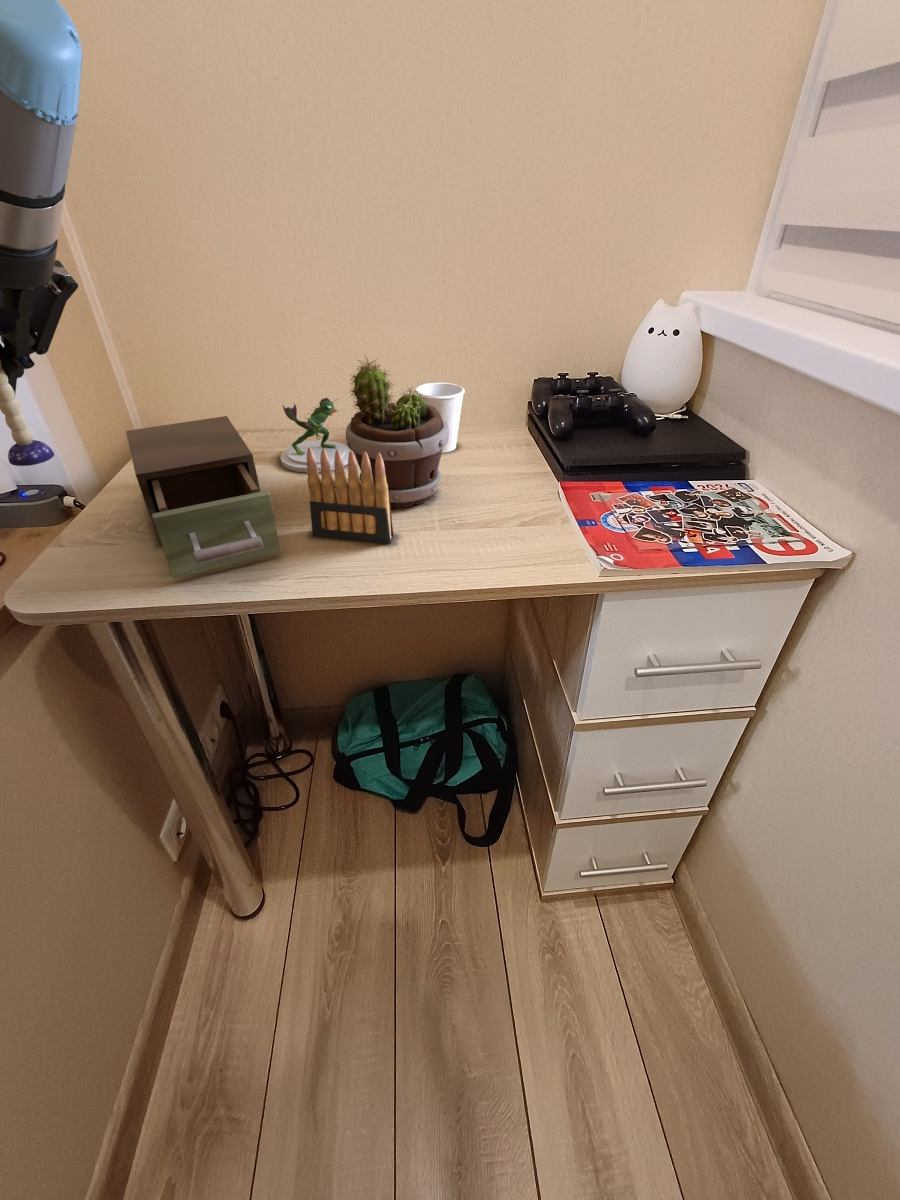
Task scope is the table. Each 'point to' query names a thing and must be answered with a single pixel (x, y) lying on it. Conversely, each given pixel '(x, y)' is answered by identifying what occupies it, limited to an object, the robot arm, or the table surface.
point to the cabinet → (185, 452)
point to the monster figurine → (297, 453)
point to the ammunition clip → (349, 500)
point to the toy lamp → (20, 428)
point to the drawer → (213, 519)
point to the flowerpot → (397, 437)
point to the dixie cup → (445, 406)
